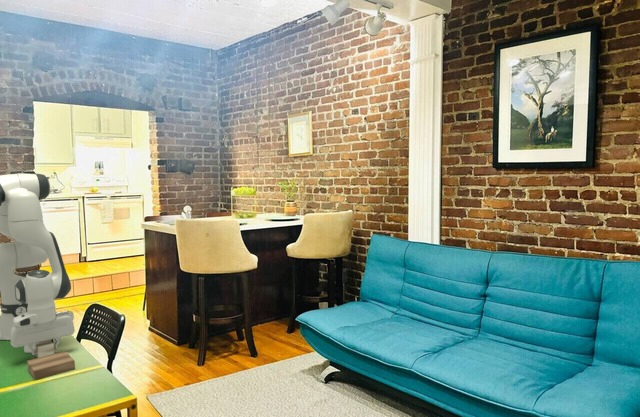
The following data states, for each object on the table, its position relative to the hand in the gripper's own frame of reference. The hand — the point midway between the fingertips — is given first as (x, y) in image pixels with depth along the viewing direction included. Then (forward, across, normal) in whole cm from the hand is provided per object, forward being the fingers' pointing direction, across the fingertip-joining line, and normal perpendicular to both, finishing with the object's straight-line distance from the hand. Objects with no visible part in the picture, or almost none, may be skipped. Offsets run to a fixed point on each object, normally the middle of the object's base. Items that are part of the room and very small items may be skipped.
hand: (44, 352), depth 175 cm
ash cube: (+2, 0, 0) cm, 2 cm away
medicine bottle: (+2, 0, -10) cm, 10 cm away
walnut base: (+2, +1, +14) cm, 14 cm away
